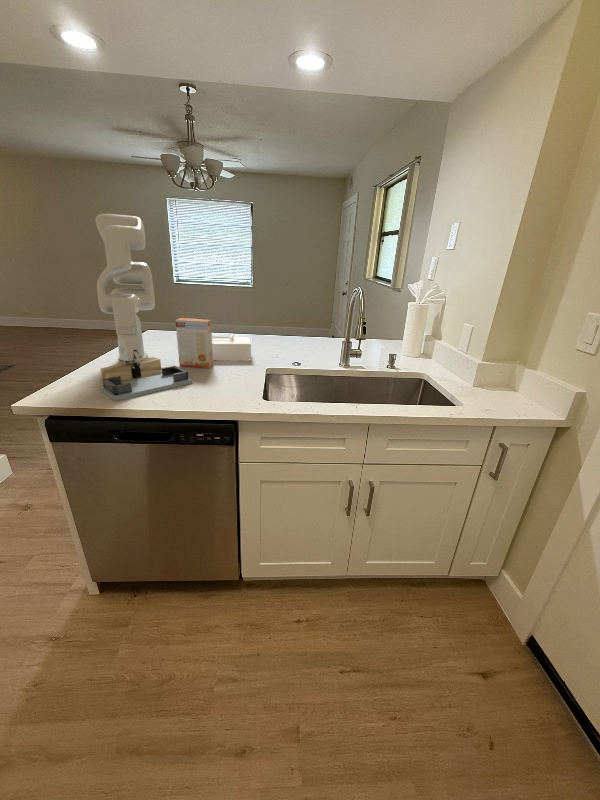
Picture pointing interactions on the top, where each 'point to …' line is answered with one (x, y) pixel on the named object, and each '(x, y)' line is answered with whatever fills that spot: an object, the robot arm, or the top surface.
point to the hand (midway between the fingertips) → (133, 375)
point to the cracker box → (194, 342)
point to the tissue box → (231, 348)
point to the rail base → (145, 383)
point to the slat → (124, 370)
